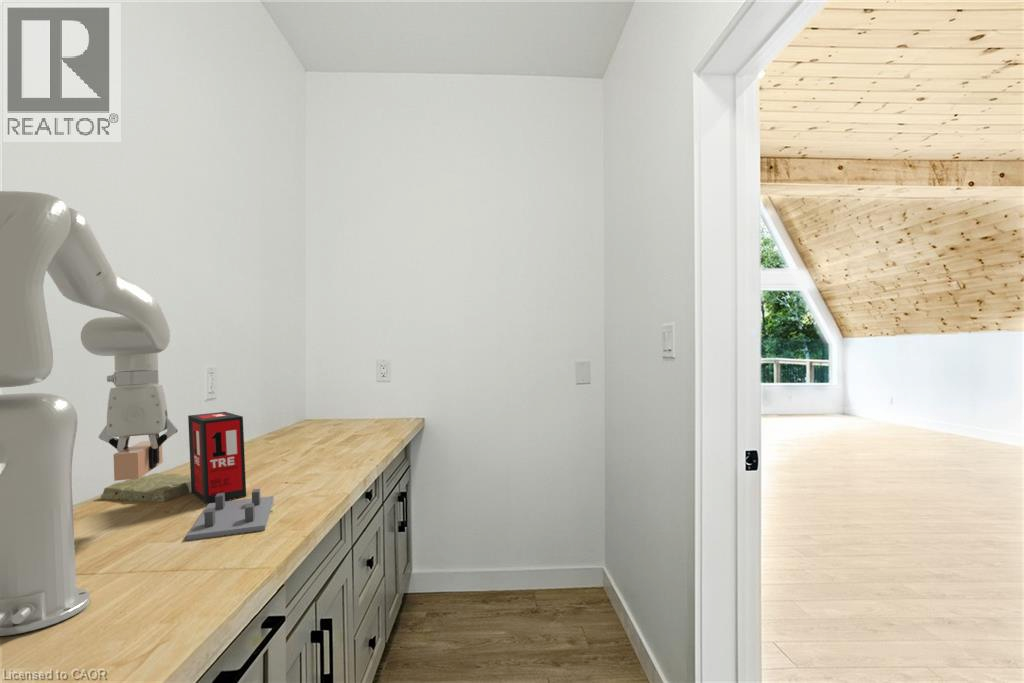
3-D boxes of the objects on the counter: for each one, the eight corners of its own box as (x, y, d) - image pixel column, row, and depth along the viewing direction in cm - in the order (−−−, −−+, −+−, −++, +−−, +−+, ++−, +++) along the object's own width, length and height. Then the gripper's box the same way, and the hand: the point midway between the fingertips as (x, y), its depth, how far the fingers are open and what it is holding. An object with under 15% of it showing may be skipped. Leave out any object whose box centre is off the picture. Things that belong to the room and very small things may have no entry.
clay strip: (138, 478, 112) (137, 452, 112) (114, 480, 110) (113, 454, 110) (162, 462, 129) (161, 439, 129) (141, 464, 127) (141, 441, 128)
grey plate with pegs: (264, 530, 117) (264, 510, 117) (186, 540, 113) (186, 520, 113) (273, 500, 140) (272, 483, 140) (209, 507, 136) (208, 490, 136)
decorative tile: (154, 483, 165) (153, 471, 165) (215, 485, 160) (215, 472, 160) (94, 502, 146) (93, 488, 146) (162, 504, 142) (161, 490, 142)
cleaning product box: (246, 496, 145) (242, 416, 144) (206, 504, 139) (203, 420, 139) (228, 485, 157) (225, 411, 157) (191, 492, 151) (188, 415, 151)
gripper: (82, 383, 114) (85, 476, 113) (178, 378, 119) (181, 467, 119) (96, 381, 121) (99, 469, 121) (186, 377, 126) (189, 461, 126)
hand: (140, 467), depth 120 cm, fingers closed on clay strip, 4 cm apart
